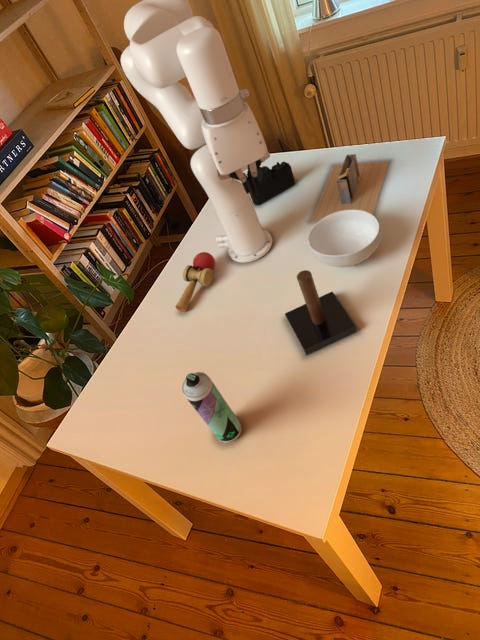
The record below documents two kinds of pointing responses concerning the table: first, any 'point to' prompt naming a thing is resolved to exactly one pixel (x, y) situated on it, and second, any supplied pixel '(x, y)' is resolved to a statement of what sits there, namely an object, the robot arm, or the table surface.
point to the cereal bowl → (344, 238)
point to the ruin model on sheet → (352, 187)
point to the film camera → (273, 181)
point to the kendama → (196, 277)
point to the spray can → (211, 406)
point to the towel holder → (318, 317)
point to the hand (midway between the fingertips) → (254, 192)
